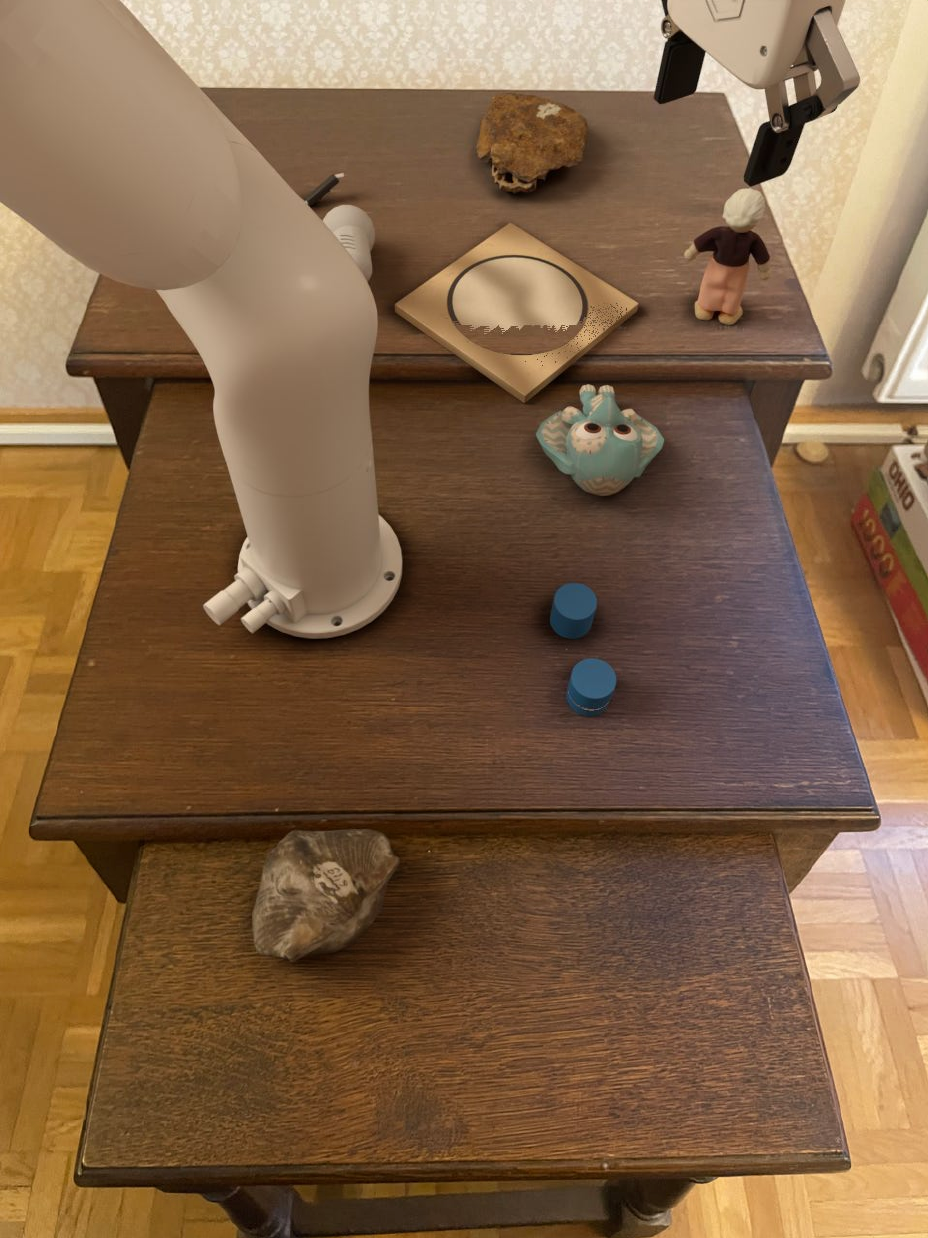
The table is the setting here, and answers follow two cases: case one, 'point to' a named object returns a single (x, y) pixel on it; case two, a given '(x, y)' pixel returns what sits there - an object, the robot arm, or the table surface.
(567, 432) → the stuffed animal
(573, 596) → the eye peg
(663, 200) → the table surface
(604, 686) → the eye peg
